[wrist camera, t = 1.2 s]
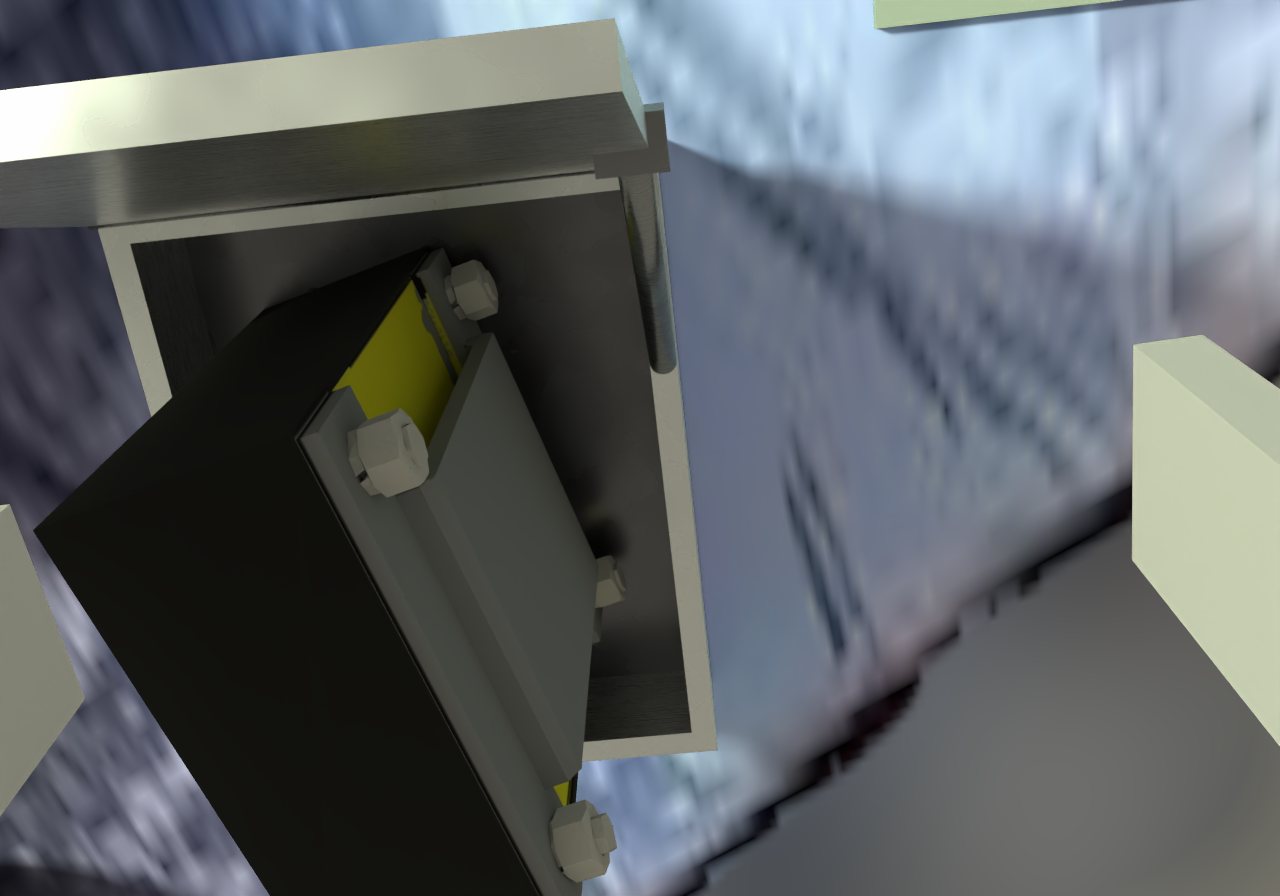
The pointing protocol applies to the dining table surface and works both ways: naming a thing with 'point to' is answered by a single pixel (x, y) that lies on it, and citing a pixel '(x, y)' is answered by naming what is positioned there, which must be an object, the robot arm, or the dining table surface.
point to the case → (435, 217)
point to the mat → (957, 9)
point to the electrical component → (359, 596)
